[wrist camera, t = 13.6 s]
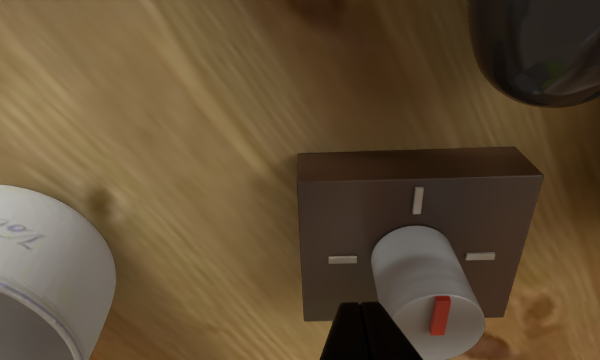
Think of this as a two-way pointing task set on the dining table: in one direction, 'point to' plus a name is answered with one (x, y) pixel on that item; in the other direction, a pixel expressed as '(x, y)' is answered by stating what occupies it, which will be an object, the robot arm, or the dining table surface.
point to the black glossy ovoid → (538, 49)
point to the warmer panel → (412, 217)
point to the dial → (427, 292)
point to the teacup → (50, 279)
